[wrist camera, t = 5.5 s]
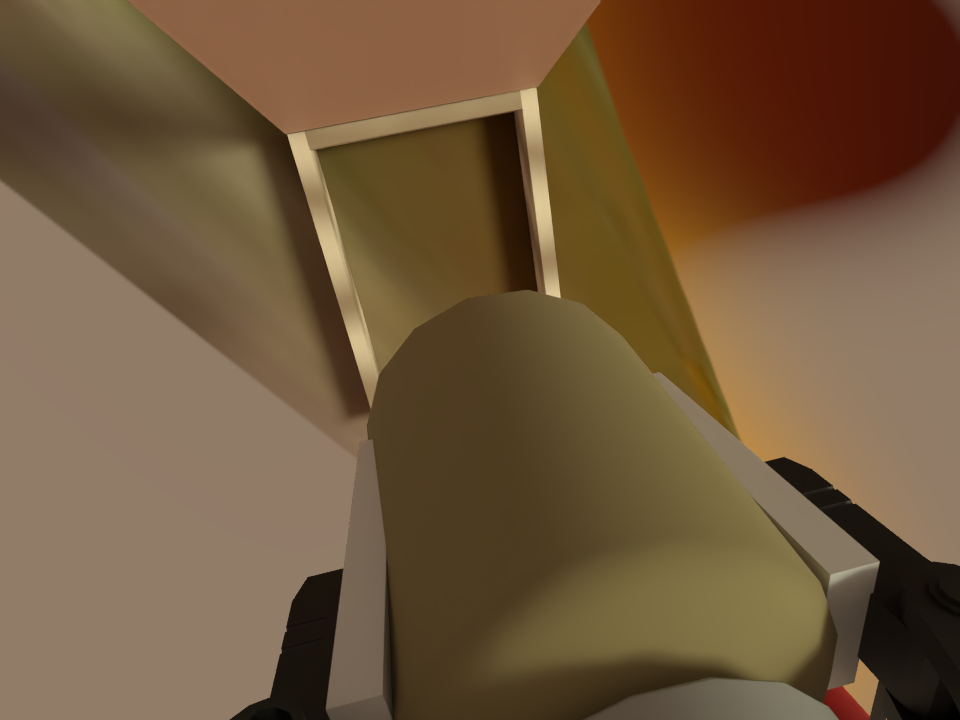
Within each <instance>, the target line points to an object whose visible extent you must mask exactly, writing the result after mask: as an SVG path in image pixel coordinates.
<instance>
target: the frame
mask: <svg viewBox="0 0 960 720" xmlns="http://www.w3.org/2000/svg"><path fill="white" fill-rule="evenodd" d="M510 112H514V117H515V124H516V132H517V139H518V147H519V154H520V162H521V169H522V177H523V184H524V191H525V199H526V206H527V214H528V221H529V229H530V236H531V244H532V251H533V259H534V266H535V273H536V281H537V288H538V292H539V293H543V294H546V295H550V296H554V297H558V298H561V297H560V289H559V280H558V272H557V263H556V254H555V246H554V237H553V228H552V220H551V211H550V202H549V194H548V185H547V176H546V168H545V159H544V151H543V142H542V133H541V125H540V116H539V107H538V99H537V90H536V88H531V89H525V90H520V91H515V92H509V93H504V94H499V95H493V96H488V97H483V98H478V99H472V100H467V101H462V102H456V103H451V104H446V105H440V106H435V107H430V108H425V109H419V110H414V111H409V112H403V113H398V114H393V115H387V116H382V117H377V118H372V119H366V120H361V121H356V122H350V123H345V124H340V125H334V126H329V127H324V128H319V129H313V130H308V131H303V132H297V133H292V134H287V136H288V139H289V142H290V145H291V149H292V152H293V155H294V159H295V162H296V165H297V168H298V172H299V175H300V178H301V182H302V185H303V188H304V191H305V195H306V198H307V201H308V205H309V208H310V211H311V214H312V218H313V221H314V224H315V227H316V231H317V234H318V237H319V241H320V244H321V247H322V250H323V254H324V257H325V260H326V264H327V267H328V270H329V273H330V277H331V280H332V283H333V287H334V290H335V293H336V296H337V300H338V303H339V306H340V310H341V313H342V316H343V319H344V323H345V326H346V329H347V333H348V336H349V339H350V342H351V346H352V349H353V352H354V356H355V359H356V362H357V365H358V369H359V372H360V375H361V379H362V382H363V385H364V388H365V392H366V395H367V398H368V401H369V405H370V408H371V406H372V402H373V398H374V394H375V390H376V385H377V381H378V377H379V374H380V371H379V368H378V364H377V361H376V357H375V354H374V350H373V347H372V343H371V340H370V336H369V333H368V329H367V326H366V323H365V319H364V316H363V312H362V309H361V305H360V302H359V298H358V295H357V291H356V288H355V284H354V281H353V277H352V274H351V270H350V267H349V263H348V260H347V256H346V253H345V249H344V246H343V242H342V239H341V235H340V232H339V228H338V225H337V221H336V218H335V214H334V211H333V207H332V204H331V200H330V197H329V193H328V190H327V186H326V183H325V179H324V176H323V172H322V169H321V165H320V162H319V158H318V155H317V151H316V150H317V149H322V148H328V147H333V146H338V145H343V144H348V143H354V142H359V141H364V140H369V139H375V138H380V137H385V136H390V135H395V134H401V133H406V132H411V131H416V130H422V129H427V128H432V127H437V126H442V125H448V124H453V123H458V122H463V121H469V120H474V119H479V118H484V117H490V116H495V115H500V114H505V113H510Z"/></svg>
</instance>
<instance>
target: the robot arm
mask: <svg viewBox="0 0 960 720" xmlns="http://www.w3.org/2000/svg"><path fill="white" fill-rule="evenodd" d="M653 375H654V377H655V378H656V379H657V380H658V381H659V383H660V384H661V385H662V386H663V388H664V389H665V390H666V391H667V393H668V394H669V395H670V396H671V398H672V399H673V400H674V401H675V403H676V404H677V405H678V406H679V408H680V409H681V410H682V411H683V412H684V414H685V415H686V416H687V417H688V419H689V420H690V421H691V422H692V424H693V425H694V426H695V427H696V429H697V430H698V431H699V432H700V434H701V435H702V436H703V437H704V439H705V440H706V441H707V442H708V443H709V445H710V446H711V447H712V448H713V450H714V451H715V452H716V453H717V455H718V456H719V457H720V458H721V460H722V461H723V462H724V463H725V465H726V466H727V467H728V468H729V470H730V471H731V472H732V473H733V474H734V476H735V477H736V478H737V479H738V481H739V482H740V483H741V484H742V486H743V487H744V488H745V489H746V491H747V492H748V493H749V494H750V496H751V497H752V498H753V499H754V501H755V502H756V503H757V504H758V505H759V507H760V508H761V509H762V510H763V512H764V513H765V514H766V515H767V517H768V518H769V519H770V520H771V522H772V523H773V524H774V525H775V527H776V528H777V529H778V530H779V532H780V533H781V534H782V535H783V536H784V538H785V539H786V540H787V541H788V543H789V544H790V545H791V546H792V548H793V549H794V550H795V551H796V553H797V554H798V555H799V556H800V558H801V559H802V560H803V561H804V562H805V564H806V565H807V566H808V567H809V569H810V570H811V571H812V572H813V574H814V575H815V576H816V577H817V579H818V580H819V581H820V582H821V585H822V588H823V591H824V594H825V597H826V600H827V603H828V606H829V610H830V613H831V616H832V619H833V622H834V625H835V628H836V631H837V634H838V637H837V643H836V649H835V655H834V660H833V666H832V672H831V678H830V681H829V685H828V689H827V690H829V689H833V688H836V687H840V686H843V685H847V684H850V683H854V681H855V676H856V671H857V667H858V662H859V659H860V660H861V661H862V662H863V663H864V664H865V665H866V666H867V667H868V668H869V670H870V671H871V672H872V673H873V674H874V675H875V676H876V677H877V679H878V680H879V682H878V687H877V690H876V695H875V699H874V703H873V707H872V712H871V716H870V719H869V720H886V718H887V720H960V566H958V565H955V564H947V563H940V562H931V561H929V560H928V559H926V558H925V557H923V556H922V555H921V554H920V553H919V552H917V551H916V550H915V549H913V548H912V547H911V546H909V545H908V544H907V543H906V542H904V541H903V540H902V539H900V538H899V537H898V536H896V535H895V534H894V533H893V532H892V531H890V530H889V529H888V528H886V527H885V526H884V525H883V524H881V523H880V522H879V521H877V520H876V519H875V518H874V517H872V516H871V515H870V514H868V513H867V512H866V511H865V510H863V509H862V508H861V507H860V506H858V505H857V504H853V503H852V502H851V500H850V499H849V498H848V497H847V496H845V495H844V494H843V493H841V492H840V491H839V490H838V489H836V490H835V489H834V488H833V485H831V484H830V483H829V482H827V481H826V480H825V479H824V478H822V477H821V476H820V475H818V474H817V473H816V472H815V471H813V470H812V469H810V468H808V467H805V466H803V465H801V464H799V463H796V462H794V461H792V460H790V459H787V458H785V457H782V458H778V459H774V460H770V461H766V462H764V461H762V460H761V459H760V458H759V457H758V456H757V455H755V454H754V453H753V452H752V451H751V450H750V449H749V448H747V447H746V446H745V445H744V444H743V443H742V442H740V441H739V440H738V439H737V438H736V437H735V436H733V435H732V434H731V433H730V432H729V431H728V430H726V429H725V428H724V427H723V426H722V425H721V424H719V423H718V422H717V421H716V420H715V419H714V418H712V417H711V416H710V415H709V414H708V413H707V412H706V411H704V410H703V409H702V408H701V407H700V406H699V405H697V404H696V403H695V402H694V401H693V400H692V399H690V398H689V397H688V396H687V395H686V394H685V393H683V392H682V391H681V390H680V389H679V388H678V387H676V386H675V385H674V384H673V383H672V382H671V381H669V380H668V379H667V378H666V377H665V376H664V375H662V374H661V373H660V372H659V373H655V374H653ZM286 628H287V632H285V635H284V640H283V643H282V648H281V649H282V654H280V657H279V661H278V665H277V669H276V674H275V678H274V682H273V687H272V691H271V695H270V698H267V699H265V700H262V701H259V702H257V703H254V704H252V705H249V706H248V707H246V708H245V709H244V710H242V711H241V712H240V713H238V714H237V715H235V716H234V717H233V718H232V719H230V720H394V715H393V704H392V682H391V657H390V631H389V605H388V580H387V554H386V543H385V535H384V527H383V519H382V511H381V503H380V494H379V486H378V478H377V470H376V462H375V454H374V446H373V439H371V440H366V441H362V442H360V443H359V451H358V459H357V467H356V474H355V482H354V491H353V498H352V506H351V515H350V522H349V530H348V538H347V545H346V554H345V561H344V568H343V569H339V570H335V571H331V572H327V573H323V574H319V575H315V576H311V577H308V578H307V579H306V581H305V582H304V584H303V585H302V587H301V589H300V590H299V592H298V593H297V595H296V596H295V598H294V599H293V601H292V604H291V609H290V613H289V617H288V622H287V626H286Z"/></svg>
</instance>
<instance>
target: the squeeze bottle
mask: <svg viewBox="0 0 960 720" xmlns="http://www.w3.org/2000/svg"><path fill="white" fill-rule="evenodd" d="M367 432H368V440H371V439H373V446H374V454H375V462H376V470H377V478H378V486H379V494H380V503H381V511H382V519H383V527H384V535H385V543H386V554H387V580H388V605H389V631H390V657H391V682H392V704H393V715H394V720H839V719H838V718H837V717H836V715H835V714H834V713H833V712H832V710H831V709H830V708H829V707H828V706H826V705H824V704H823V703H824V700H825V696H826V692H827V689H828V685H829V681H830V678H831V672H832V666H833V660H834V655H835V649H836V643H837V637H838V634H837V631H836V628H835V625H834V622H833V619H832V616H831V613H830V610H829V606H828V603H827V600H826V597H825V594H824V591H823V588H822V585H821V582H820V581H819V580H818V579H817V577H816V576H815V575H814V574H813V572H812V571H811V570H810V569H809V567H808V566H807V565H806V564H805V562H804V561H803V560H802V559H801V558H800V556H799V555H798V554H797V553H796V551H795V550H794V549H793V548H792V546H791V545H790V544H789V543H788V541H787V540H786V539H785V538H784V536H783V535H782V534H781V533H780V532H779V530H778V529H777V528H776V527H775V525H774V524H773V523H772V522H771V520H770V519H769V518H768V517H767V515H766V514H765V513H764V512H763V510H762V509H761V508H760V507H759V505H758V504H757V503H756V502H755V501H754V499H753V498H752V497H751V496H750V494H749V493H748V492H747V491H746V489H745V488H744V487H743V486H742V484H741V483H740V482H739V481H738V479H737V478H736V477H735V476H734V474H733V473H732V472H731V471H730V470H729V468H728V467H727V466H726V465H725V463H724V462H723V461H722V460H721V458H720V457H719V456H718V455H717V453H716V452H715V451H714V450H713V448H712V447H711V446H710V445H709V443H708V442H707V441H706V440H705V439H704V437H703V436H702V435H701V434H700V432H699V431H698V430H697V429H696V427H695V426H694V425H693V424H692V422H691V421H690V420H689V419H688V417H687V416H686V415H685V414H684V412H683V411H682V410H681V409H680V408H679V406H678V405H677V404H676V403H675V401H674V400H673V399H672V398H671V396H670V395H669V394H668V393H667V391H666V390H665V389H664V388H663V386H662V385H661V384H660V383H659V381H658V380H657V379H656V378H655V377H654V375H653V374H652V373H651V372H650V370H649V369H648V368H647V367H646V365H645V364H644V363H643V362H642V360H641V359H640V358H639V357H638V355H637V354H636V353H635V352H634V350H633V349H632V348H631V347H630V346H629V344H628V343H627V342H626V341H625V339H624V338H623V337H622V336H621V335H620V334H619V333H617V332H616V331H615V330H614V329H613V328H611V327H610V326H609V325H608V324H606V323H605V322H604V321H603V320H602V319H600V318H599V317H598V316H597V315H596V314H594V313H593V312H592V311H591V310H589V309H588V308H587V307H586V306H585V305H583V304H582V303H578V302H574V301H570V300H566V299H562V298H558V297H554V296H550V295H546V294H543V293H539V292H535V291H531V290H521V291H515V292H508V293H501V294H494V295H488V296H481V297H474V298H467V299H465V300H464V301H462V302H460V303H458V304H457V305H455V306H453V307H452V308H450V309H448V310H446V311H445V312H443V313H441V314H439V315H438V316H436V317H434V318H433V319H431V320H429V321H427V322H426V323H424V324H422V325H421V326H419V327H417V328H415V329H414V330H413V331H412V333H411V334H410V335H409V337H408V338H407V339H406V340H405V342H404V343H403V344H402V346H401V347H400V348H399V350H398V351H397V352H396V353H395V355H394V356H393V357H392V359H391V360H390V361H389V363H388V364H387V365H386V366H385V368H384V369H383V370H382V372H381V373H380V374H379V377H378V381H377V385H376V390H375V394H374V398H373V402H372V406H371V411H370V415H369V419H368V423H367Z"/></svg>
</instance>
